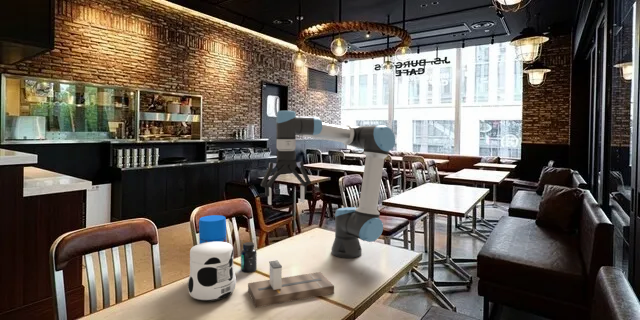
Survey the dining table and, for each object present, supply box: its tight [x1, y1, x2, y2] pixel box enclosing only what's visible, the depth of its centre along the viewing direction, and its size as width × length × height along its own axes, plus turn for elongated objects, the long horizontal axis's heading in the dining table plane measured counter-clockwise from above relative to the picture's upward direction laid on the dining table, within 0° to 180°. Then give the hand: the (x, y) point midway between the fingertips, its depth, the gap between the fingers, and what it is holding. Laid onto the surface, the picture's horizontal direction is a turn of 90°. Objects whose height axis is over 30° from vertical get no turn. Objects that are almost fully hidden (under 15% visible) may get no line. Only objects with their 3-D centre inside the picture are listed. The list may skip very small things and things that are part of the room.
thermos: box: [198, 214, 227, 244], centre depth 149 cm, size 11×11×25 cm
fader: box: [268, 259, 283, 290], centre depth 133 cm, size 3×6×9 cm, turn 22°
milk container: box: [187, 241, 237, 302], centre depth 133 cm, size 17×17×18 cm
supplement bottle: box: [240, 241, 258, 274], centre depth 156 cm, size 7×7×12 cm
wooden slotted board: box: [247, 271, 335, 308], centre depth 136 cm, size 30×14×3 cm, turn 112°
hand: (286, 203), depth 142 cm, fingers open, 13 cm apart
